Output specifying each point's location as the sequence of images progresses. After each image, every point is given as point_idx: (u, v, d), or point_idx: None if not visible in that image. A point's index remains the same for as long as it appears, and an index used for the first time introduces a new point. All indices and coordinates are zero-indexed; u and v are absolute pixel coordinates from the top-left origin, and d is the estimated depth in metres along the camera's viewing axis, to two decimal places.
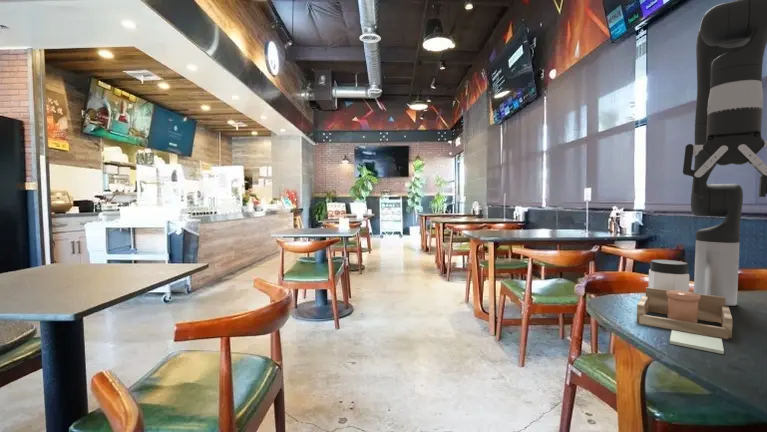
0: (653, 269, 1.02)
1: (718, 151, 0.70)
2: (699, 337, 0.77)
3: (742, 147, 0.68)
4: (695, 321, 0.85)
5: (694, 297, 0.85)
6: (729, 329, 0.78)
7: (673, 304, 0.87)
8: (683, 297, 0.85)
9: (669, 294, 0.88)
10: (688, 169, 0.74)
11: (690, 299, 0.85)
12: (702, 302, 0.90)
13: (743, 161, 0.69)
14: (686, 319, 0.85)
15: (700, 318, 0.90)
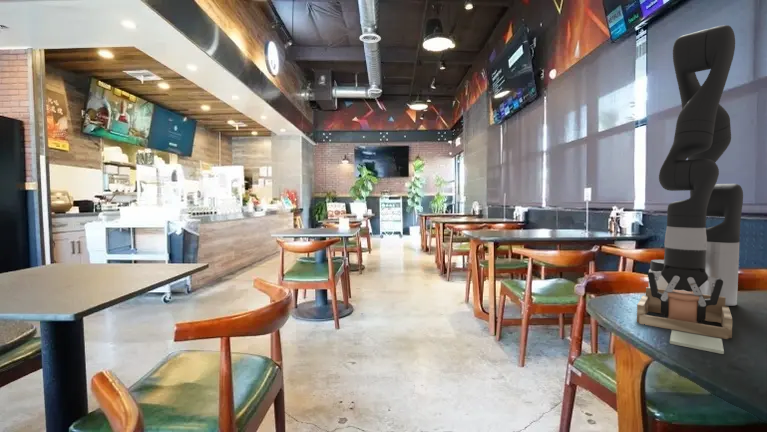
0: (653, 269, 1.02)
1: (673, 280, 0.87)
2: (699, 337, 0.77)
3: (690, 279, 0.85)
4: (695, 321, 0.85)
5: (694, 297, 0.85)
6: (729, 329, 0.78)
7: (673, 304, 0.87)
8: (683, 297, 0.85)
9: (669, 294, 0.88)
10: (655, 293, 0.90)
11: (690, 299, 0.85)
12: None
13: (691, 289, 0.86)
14: (686, 319, 0.85)
15: None
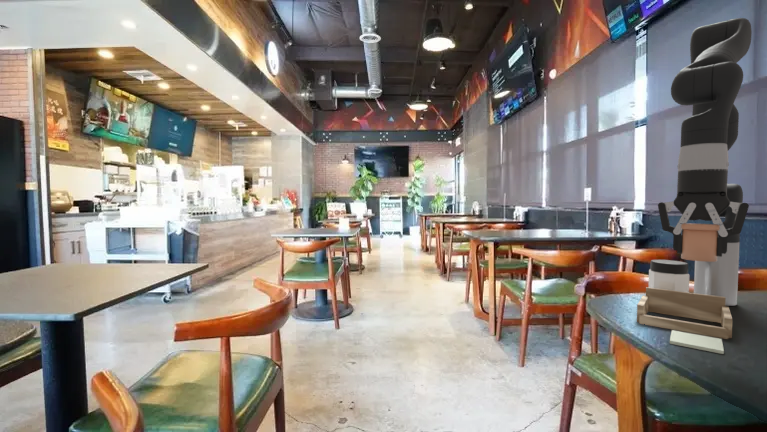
0: (653, 269, 1.02)
1: (688, 208, 0.74)
2: (699, 337, 0.77)
3: (709, 205, 0.72)
4: (715, 255, 0.72)
5: (714, 226, 0.72)
6: (729, 329, 0.78)
7: (688, 237, 0.74)
8: (700, 226, 0.72)
9: (683, 225, 0.75)
10: (667, 226, 0.77)
11: (709, 228, 0.72)
12: (702, 302, 0.90)
13: (710, 218, 0.73)
14: (704, 252, 0.72)
15: (700, 318, 0.90)
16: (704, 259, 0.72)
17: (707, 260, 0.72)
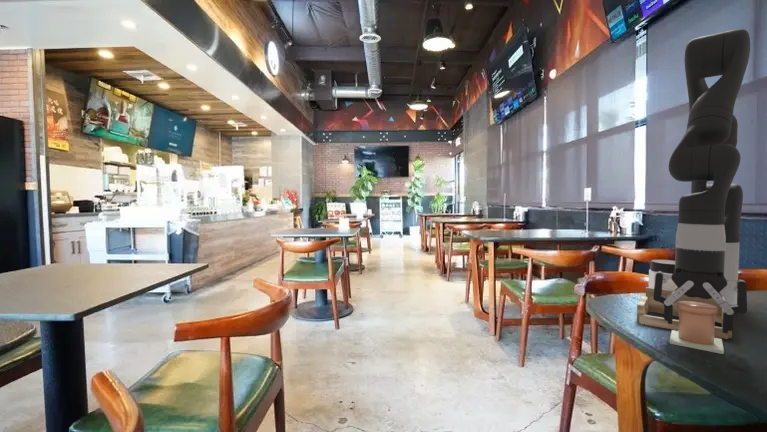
0: (653, 269, 1.02)
1: (685, 285, 0.75)
2: None
3: (706, 285, 0.73)
4: (711, 338, 0.73)
5: (710, 310, 0.72)
6: None
7: (685, 318, 0.75)
8: (697, 310, 0.73)
9: (680, 306, 0.75)
10: (658, 296, 0.78)
11: (706, 312, 0.72)
12: (702, 302, 0.90)
13: (708, 297, 0.73)
14: (701, 335, 0.73)
15: None
16: (701, 342, 0.73)
17: (704, 343, 0.73)
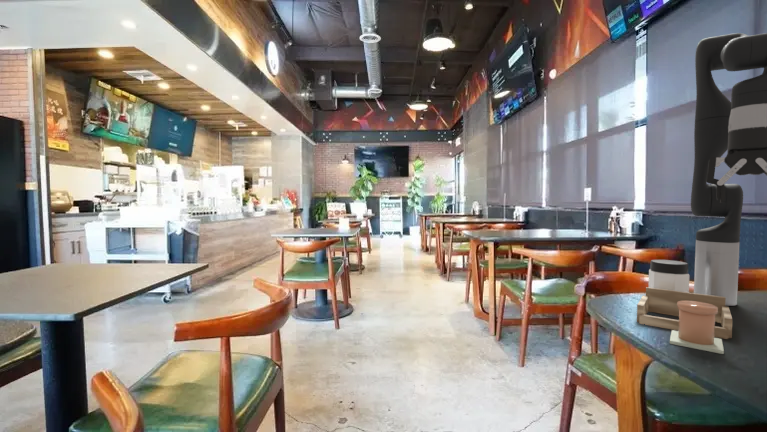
0: (653, 269, 1.02)
1: (738, 163, 0.83)
2: None
3: (759, 160, 0.80)
4: (711, 338, 0.73)
5: (709, 310, 0.72)
6: (729, 329, 0.78)
7: (684, 318, 0.75)
8: (696, 310, 0.73)
9: (680, 306, 0.75)
10: (712, 178, 0.86)
11: (704, 312, 0.72)
12: None
13: (760, 172, 0.81)
14: (700, 335, 0.73)
15: None
16: (700, 342, 0.73)
17: (703, 343, 0.73)
